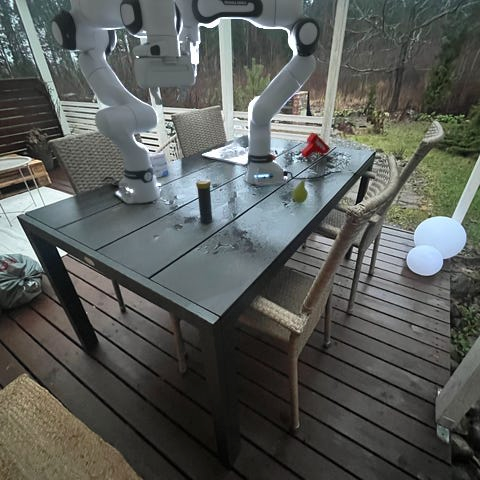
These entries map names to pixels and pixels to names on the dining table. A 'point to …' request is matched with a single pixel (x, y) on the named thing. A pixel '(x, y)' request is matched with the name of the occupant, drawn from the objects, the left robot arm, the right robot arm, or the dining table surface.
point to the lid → (203, 183)
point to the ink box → (159, 164)
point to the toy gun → (314, 146)
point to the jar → (205, 205)
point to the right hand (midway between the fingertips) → (192, 76)
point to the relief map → (230, 154)
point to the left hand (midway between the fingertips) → (171, 103)
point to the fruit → (300, 192)
